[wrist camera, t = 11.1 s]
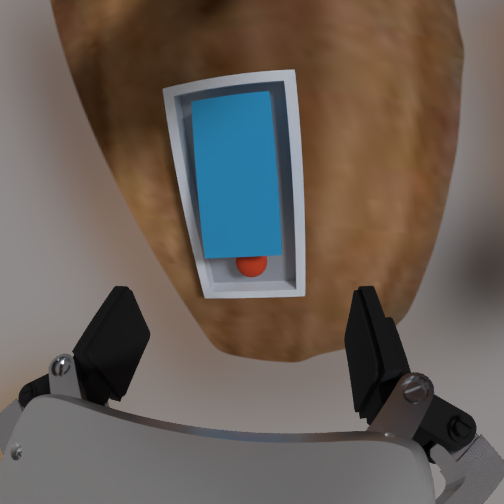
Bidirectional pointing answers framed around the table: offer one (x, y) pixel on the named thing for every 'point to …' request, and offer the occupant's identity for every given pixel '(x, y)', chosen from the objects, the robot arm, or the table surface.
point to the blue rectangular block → (237, 179)
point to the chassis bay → (289, 183)
